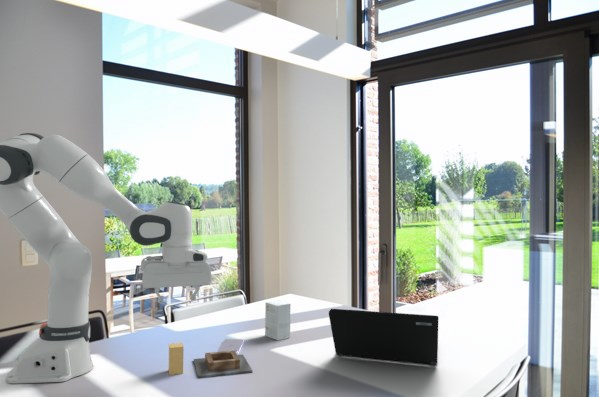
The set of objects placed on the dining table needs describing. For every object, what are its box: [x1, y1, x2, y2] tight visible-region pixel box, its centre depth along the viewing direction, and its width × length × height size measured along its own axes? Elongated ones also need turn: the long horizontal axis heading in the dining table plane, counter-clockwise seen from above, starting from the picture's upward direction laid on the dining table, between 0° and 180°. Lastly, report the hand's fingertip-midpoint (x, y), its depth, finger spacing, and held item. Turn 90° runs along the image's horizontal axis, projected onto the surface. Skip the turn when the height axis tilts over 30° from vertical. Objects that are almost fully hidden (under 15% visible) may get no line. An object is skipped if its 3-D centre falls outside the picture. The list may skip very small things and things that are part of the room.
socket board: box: [193, 350, 253, 379], centre depth 143 cm, size 16×15×3 cm
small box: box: [264, 300, 291, 341], centre depth 175 cm, size 8×6×13 cm
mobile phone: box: [216, 338, 245, 355], centre depth 162 cm, size 8×1×15 cm
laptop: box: [328, 308, 439, 365], centre depth 155 cm, size 33×38×19 cm
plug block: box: [168, 342, 184, 376], centre depth 138 cm, size 4×4×8 cm
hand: (177, 301), depth 138 cm, fingers open, 8 cm apart
